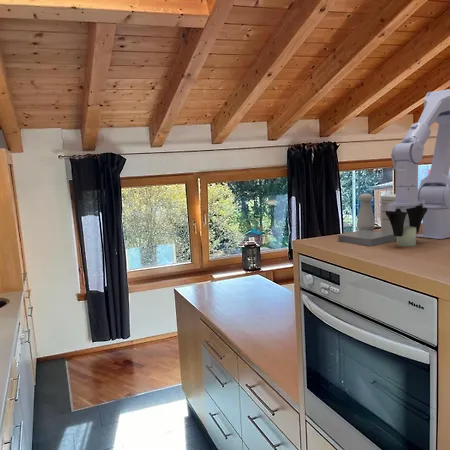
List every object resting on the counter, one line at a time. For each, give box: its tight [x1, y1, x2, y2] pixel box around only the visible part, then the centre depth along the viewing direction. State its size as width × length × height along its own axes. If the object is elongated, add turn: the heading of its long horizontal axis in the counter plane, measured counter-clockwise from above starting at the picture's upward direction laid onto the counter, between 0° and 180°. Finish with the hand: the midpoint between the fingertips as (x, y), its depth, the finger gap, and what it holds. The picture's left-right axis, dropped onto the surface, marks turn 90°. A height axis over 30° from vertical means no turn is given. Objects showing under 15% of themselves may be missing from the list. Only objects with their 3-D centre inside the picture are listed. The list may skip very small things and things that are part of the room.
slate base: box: [337, 230, 397, 247], centre depth 131 cm, size 12×12×2 cm
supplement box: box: [380, 193, 410, 233], centre depth 140 cm, size 7×7×13 cm
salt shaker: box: [356, 193, 376, 231], centre depth 147 cm, size 6×6×13 cm
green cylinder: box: [396, 226, 417, 248], centre depth 122 cm, size 5×5×5 cm
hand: (406, 234), depth 122 cm, fingers open, 7 cm apart
